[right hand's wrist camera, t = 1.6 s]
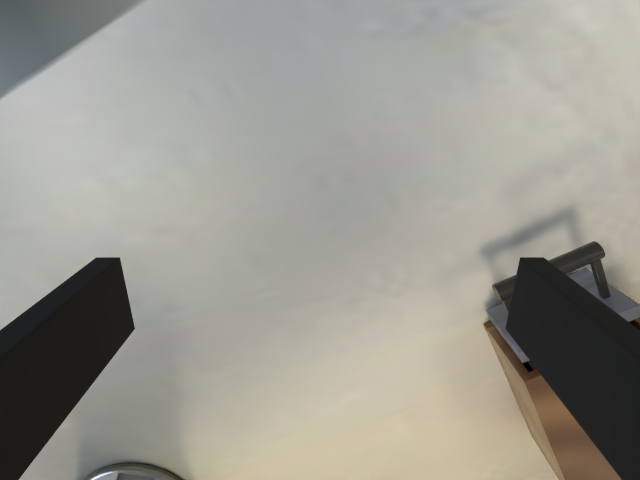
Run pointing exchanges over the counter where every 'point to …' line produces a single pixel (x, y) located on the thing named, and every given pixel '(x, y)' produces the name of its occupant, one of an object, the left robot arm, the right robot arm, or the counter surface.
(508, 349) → the cabinet
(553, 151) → the counter surface
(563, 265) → the drawer
